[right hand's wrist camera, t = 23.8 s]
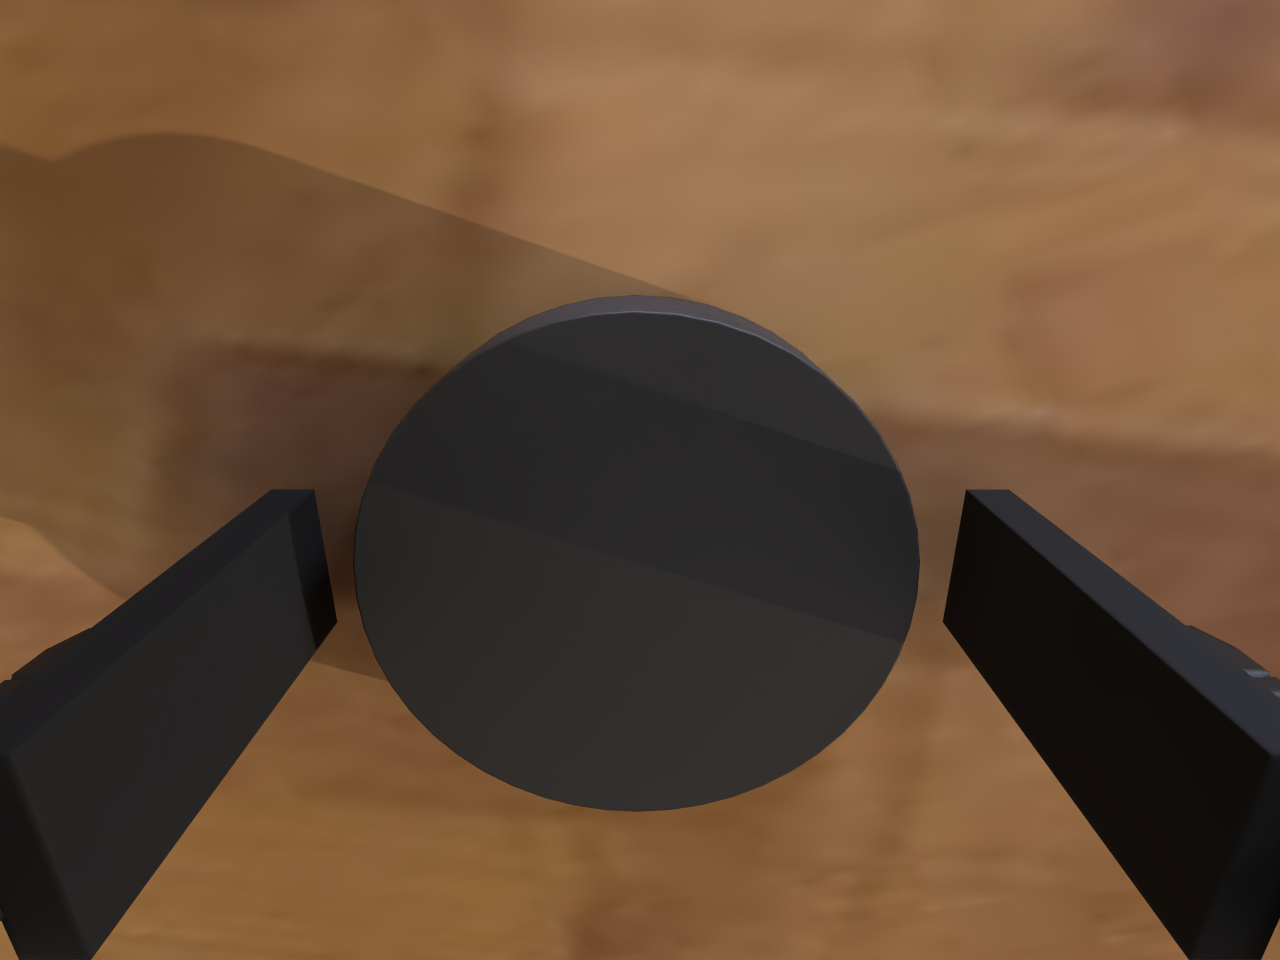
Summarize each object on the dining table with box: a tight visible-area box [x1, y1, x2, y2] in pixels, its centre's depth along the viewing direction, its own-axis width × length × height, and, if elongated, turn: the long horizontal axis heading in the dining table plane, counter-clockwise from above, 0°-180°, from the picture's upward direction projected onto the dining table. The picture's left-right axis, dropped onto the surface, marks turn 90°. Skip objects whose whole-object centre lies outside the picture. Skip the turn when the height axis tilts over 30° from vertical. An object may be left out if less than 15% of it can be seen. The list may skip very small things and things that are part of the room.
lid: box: [353, 295, 920, 812], centre depth 13 cm, size 9×9×2 cm
